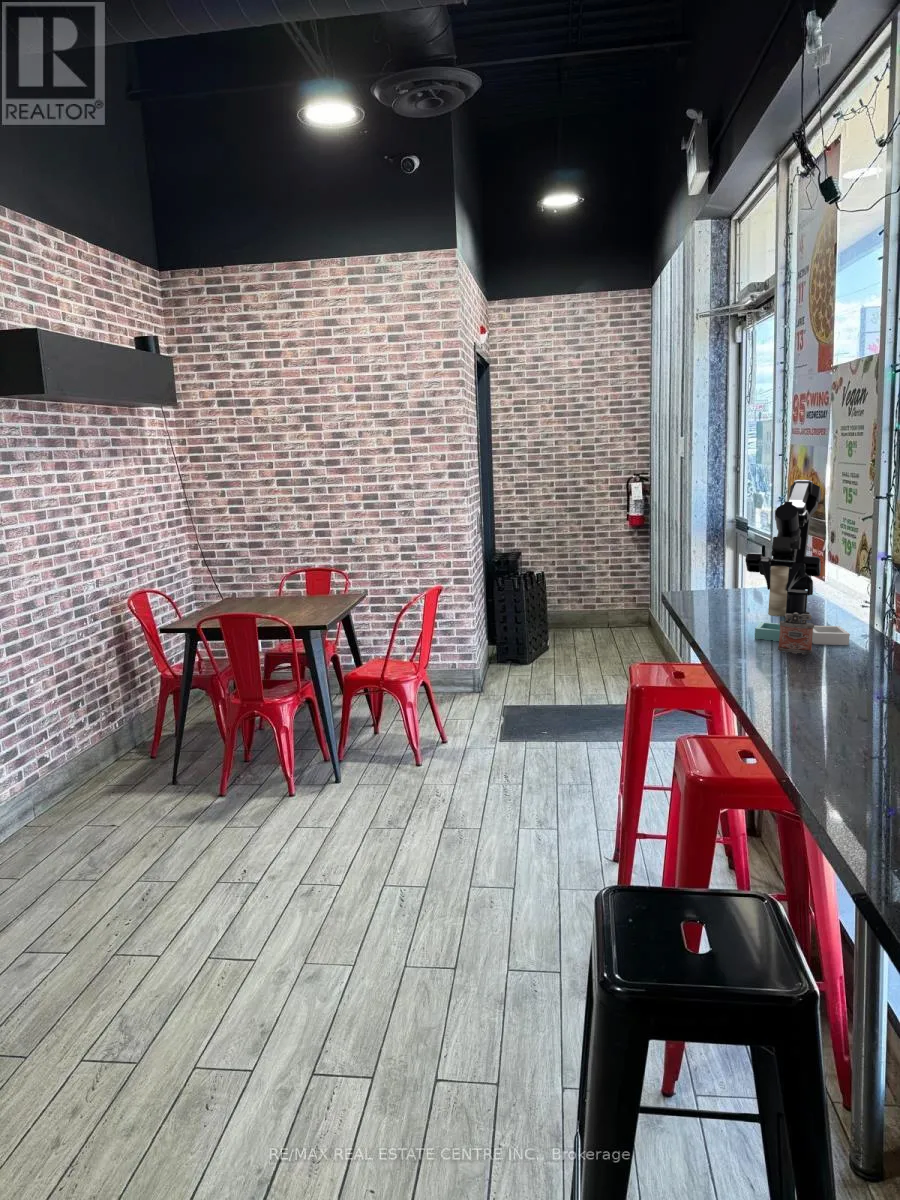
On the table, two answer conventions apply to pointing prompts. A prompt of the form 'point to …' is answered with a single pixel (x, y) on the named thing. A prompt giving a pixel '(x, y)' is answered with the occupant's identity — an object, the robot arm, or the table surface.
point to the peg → (778, 590)
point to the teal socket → (767, 631)
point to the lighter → (796, 634)
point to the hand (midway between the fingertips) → (777, 589)
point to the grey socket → (830, 635)
